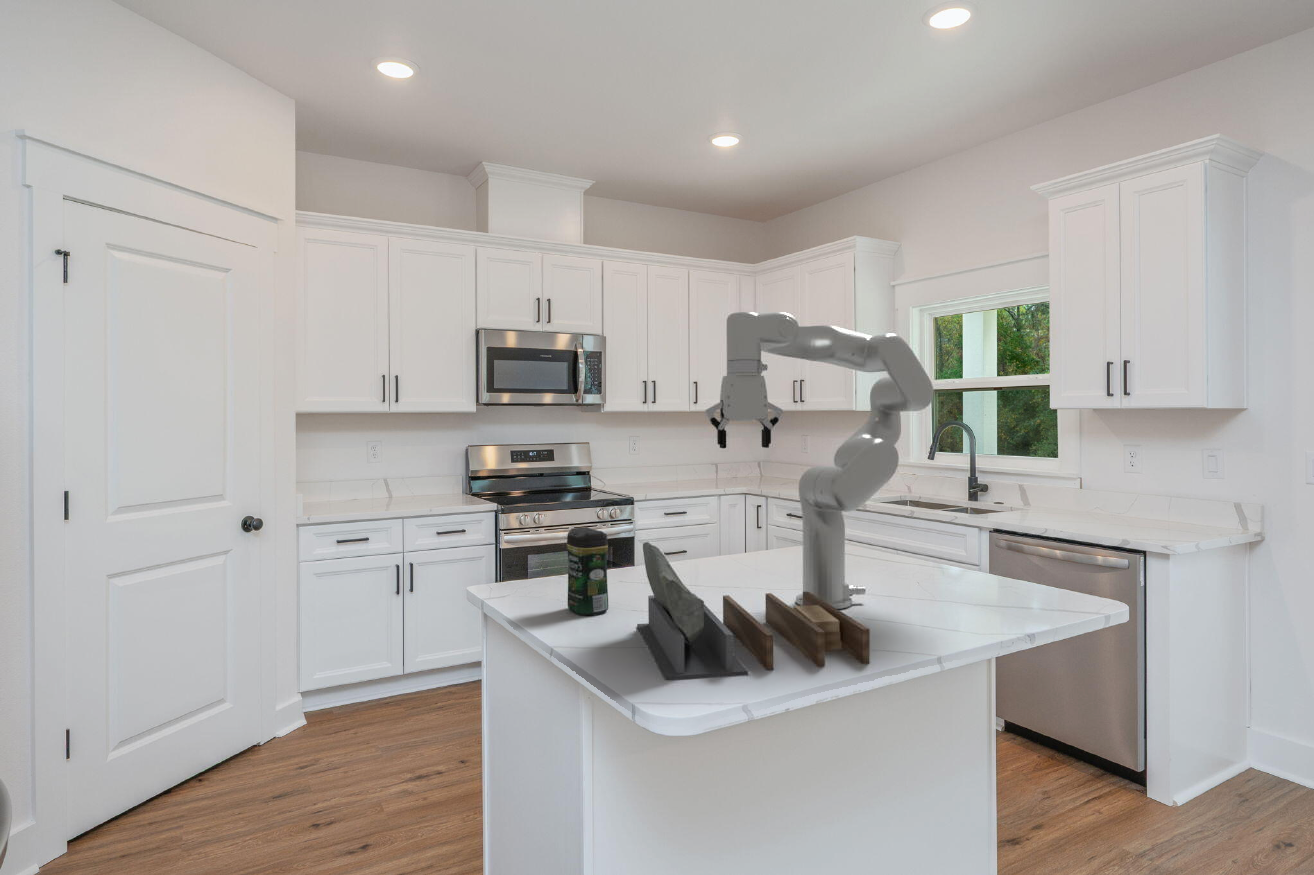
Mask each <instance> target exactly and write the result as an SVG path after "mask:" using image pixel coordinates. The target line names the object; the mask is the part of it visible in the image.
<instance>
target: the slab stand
mask: <svg viewBox="0 0 1314 875" xmlns="http://www.w3.org/2000/svg"><path fill="white" fill-rule="evenodd" d="M693 594H694V595H695V596H696V597H698V595H697V594H696V593H693ZM647 601H648V612H647V613H648V623H637V624H636V625H637V626H636V627H637V630H638V631H639V632H640V635H641V637H642V638H643V640H644V642H645V644H646V646H647V648H648V650H649V652H650V654H651V655H652V658H653V659H654V661H655V663H656V666H657V667H658V669H659V671H660V673H661V675H662V678H664V681H672V680H686V679H689V680H690V679H702V678H716V677H731V676H733V677H734V676H746V675H749V671H748V669H747V668H746V667H745V666H744V665H743V663H742V662H740V660H739V659H738V658H737V657H736V656H735V655H734V635H733V634H732V633H731V631H730V630H729V629H728V628H727V627H726V626H725V625H724V624H723V621H721V620H720V619H719V618H718V617H717V615H716V614H715V613H713V611H712V610H710V608H708V606H707V605H706V604H705V603H704V626H703V632H702V634H701V635H700V638H699V639H698V640H696V641H695V642H694V643H693V644H691V645H689V644H688V643H687V642H686V641H685V639H684V636H683V635H682V633H681V632H680V631H679V629H678V628H677V626H676V625H675V624H674V622H673V621H672V620H671V618H670V617H669V615H668V614H667V613H666V611H665V610H664V608H663V607H662V606H661V604H660V603H659V602H658V601H657V600H656V598H655V596H654V594H653V595H652V594H651V595H648V599H647Z"/></svg>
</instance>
